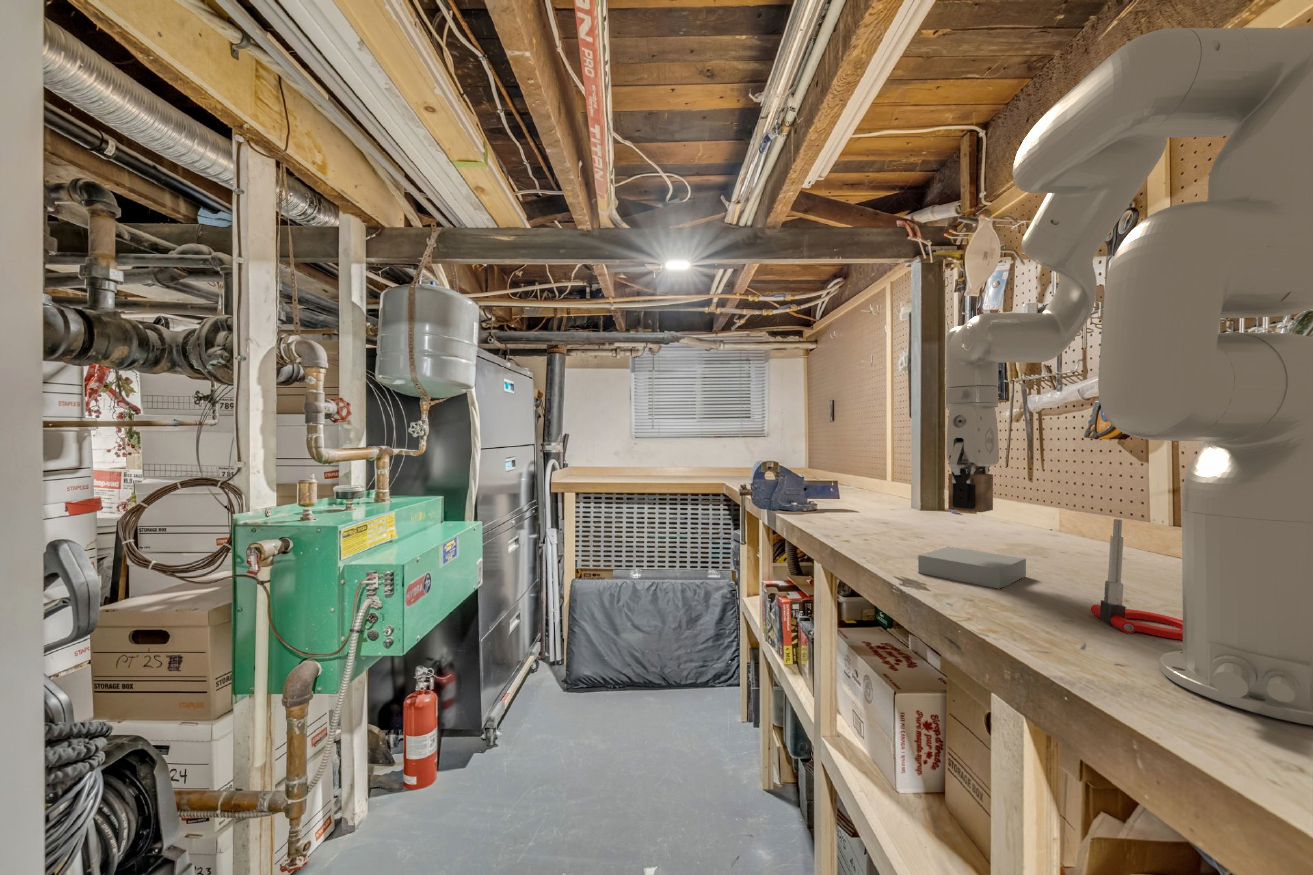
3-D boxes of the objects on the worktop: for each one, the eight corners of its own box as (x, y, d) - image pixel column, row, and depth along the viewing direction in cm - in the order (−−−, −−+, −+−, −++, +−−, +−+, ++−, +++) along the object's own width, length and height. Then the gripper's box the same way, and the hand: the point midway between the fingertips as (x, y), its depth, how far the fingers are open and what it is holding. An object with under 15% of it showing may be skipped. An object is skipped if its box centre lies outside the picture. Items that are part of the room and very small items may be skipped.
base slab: (999, 589, 77) (999, 569, 77) (918, 572, 86) (918, 555, 86) (1025, 576, 84) (1025, 558, 84) (948, 563, 94) (948, 546, 94)
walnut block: (981, 512, 82) (981, 475, 82) (948, 509, 86) (948, 473, 86) (992, 510, 85) (993, 474, 85) (960, 506, 89) (960, 472, 89)
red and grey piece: (1172, 623, 64) (1085, 612, 66) (1178, 521, 64) (1090, 514, 66) (1227, 649, 56) (1125, 636, 58) (1234, 532, 56) (1131, 524, 58)
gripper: (976, 394, 77) (975, 513, 77) (1014, 400, 88) (1014, 505, 88) (925, 397, 83) (924, 508, 83) (967, 402, 94) (966, 501, 94)
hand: (970, 505), depth 86 cm, fingers closed on walnut block, 5 cm apart
